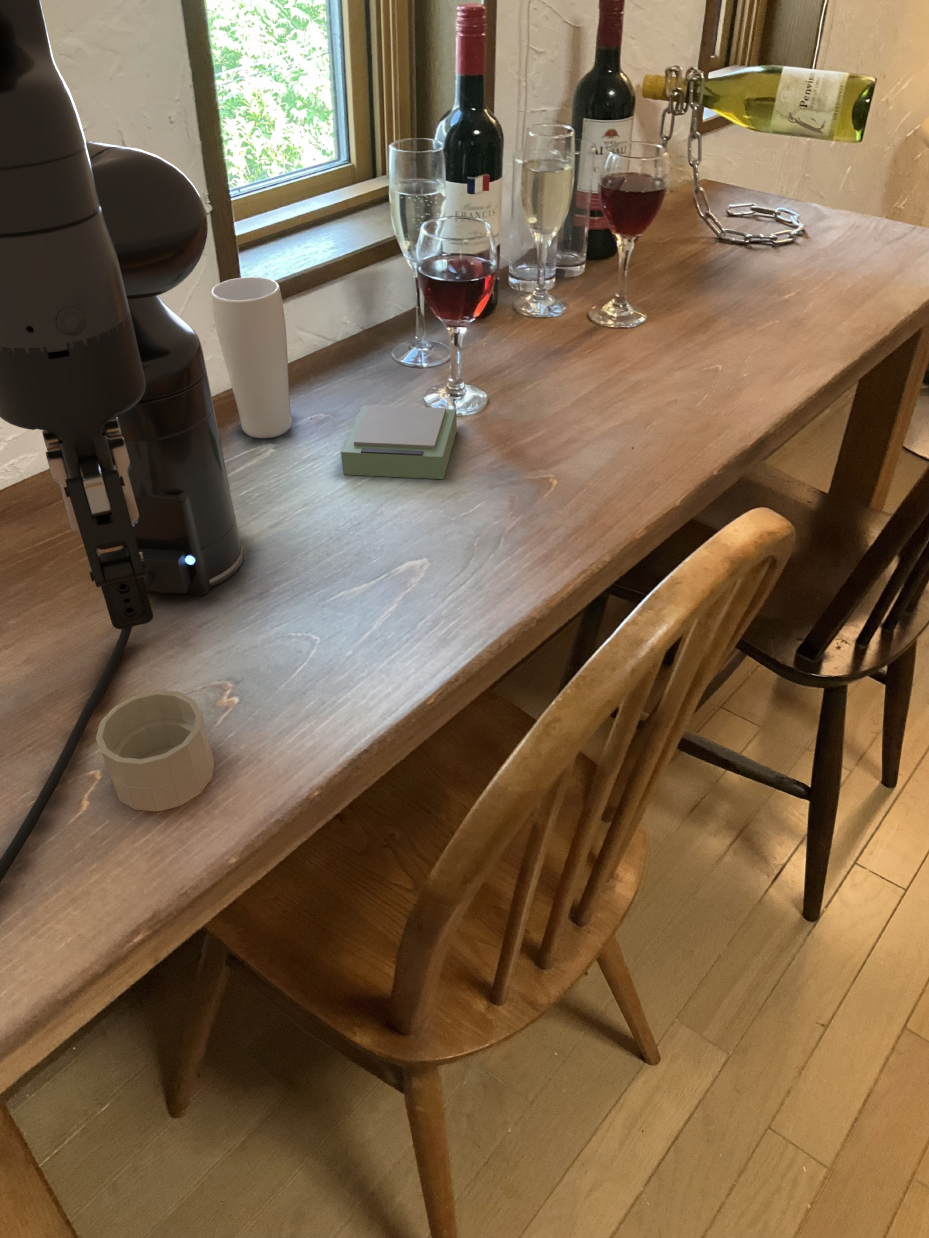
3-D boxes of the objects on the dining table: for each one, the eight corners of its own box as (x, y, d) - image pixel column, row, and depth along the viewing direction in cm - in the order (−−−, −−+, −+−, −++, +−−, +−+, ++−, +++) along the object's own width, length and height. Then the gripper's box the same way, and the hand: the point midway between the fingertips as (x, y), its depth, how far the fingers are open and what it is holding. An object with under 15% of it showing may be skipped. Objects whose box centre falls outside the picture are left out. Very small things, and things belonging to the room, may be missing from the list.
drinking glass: (294, 444, 99) (273, 301, 90) (229, 444, 99) (202, 301, 90) (304, 413, 105) (285, 276, 95) (242, 414, 105) (218, 276, 95)
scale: (443, 479, 93) (442, 453, 91) (343, 474, 94) (340, 448, 92) (456, 431, 101) (456, 405, 99) (363, 426, 102) (361, 401, 100)
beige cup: (197, 820, 61) (181, 767, 58) (99, 811, 62) (78, 758, 58) (228, 747, 66) (215, 694, 63) (137, 739, 67) (120, 687, 63)
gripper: (-37, 277, 51) (47, 535, 61) (-33, 381, 40) (68, 671, 50) (109, 258, 53) (168, 510, 63) (149, 352, 43) (211, 635, 53)
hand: (123, 581), depth 57 cm, fingers open, 8 cm apart
